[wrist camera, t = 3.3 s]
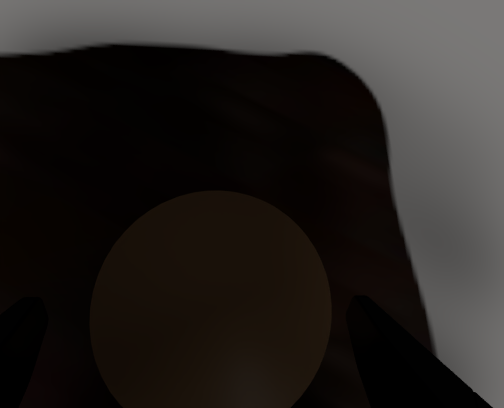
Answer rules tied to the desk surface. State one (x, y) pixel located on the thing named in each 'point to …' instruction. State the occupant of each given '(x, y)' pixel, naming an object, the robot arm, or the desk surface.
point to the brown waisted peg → (210, 307)
